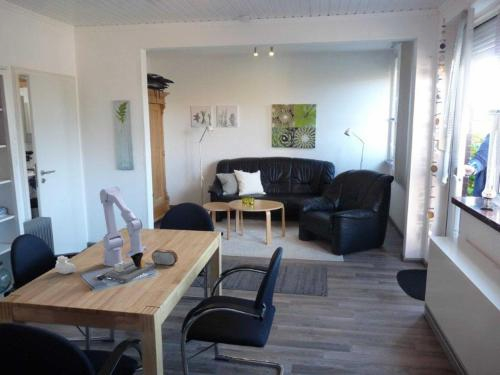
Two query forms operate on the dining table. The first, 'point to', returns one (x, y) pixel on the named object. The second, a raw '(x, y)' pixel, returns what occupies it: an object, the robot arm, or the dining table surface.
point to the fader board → (130, 272)
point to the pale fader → (118, 267)
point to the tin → (164, 257)
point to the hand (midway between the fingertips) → (137, 266)
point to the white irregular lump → (65, 266)
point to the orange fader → (142, 263)
